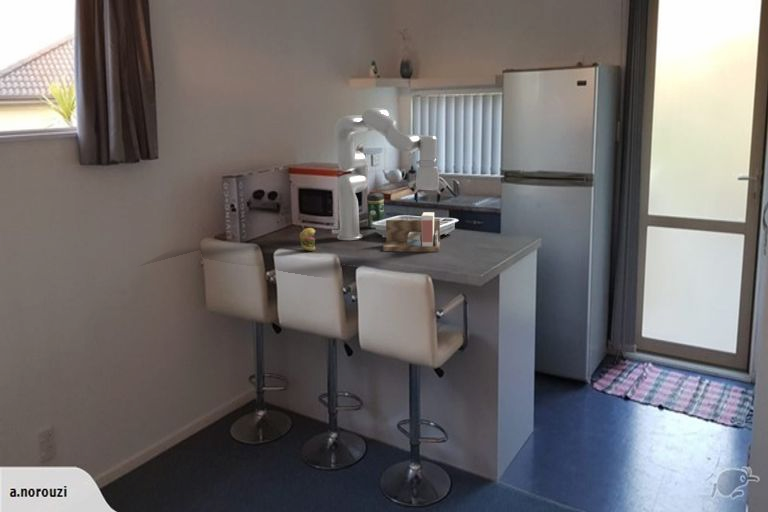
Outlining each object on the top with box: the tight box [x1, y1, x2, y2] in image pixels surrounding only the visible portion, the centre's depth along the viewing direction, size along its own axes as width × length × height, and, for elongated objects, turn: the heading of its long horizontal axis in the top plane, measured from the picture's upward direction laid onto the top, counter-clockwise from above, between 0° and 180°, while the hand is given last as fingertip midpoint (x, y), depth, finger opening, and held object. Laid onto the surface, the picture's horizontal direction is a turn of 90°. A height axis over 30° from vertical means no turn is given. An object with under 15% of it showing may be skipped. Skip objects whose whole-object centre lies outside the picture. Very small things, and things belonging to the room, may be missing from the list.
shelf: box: [382, 220, 441, 253], centre depth 297 cm, size 25×13×12 cm, turn 82°
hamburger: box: [299, 225, 316, 252], centre depth 296 cm, size 8×7×12 cm
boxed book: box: [421, 211, 435, 247], centre depth 295 cm, size 5×9×14 cm, turn 172°
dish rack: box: [372, 214, 459, 238], centre depth 325 cm, size 32×37×8 cm
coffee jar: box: [366, 192, 385, 230], centre depth 346 cm, size 10×8×19 cm
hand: (427, 202), depth 292 cm, fingers open, 9 cm apart
